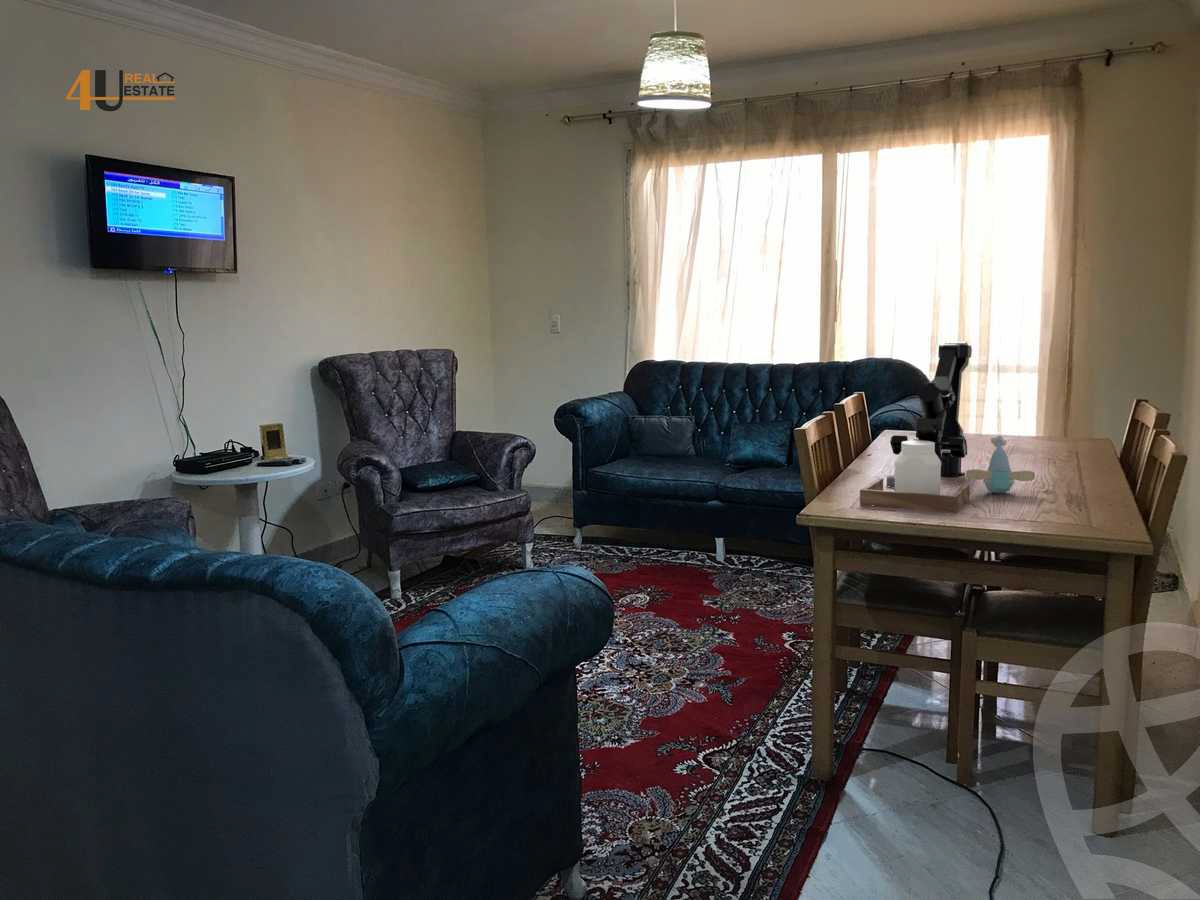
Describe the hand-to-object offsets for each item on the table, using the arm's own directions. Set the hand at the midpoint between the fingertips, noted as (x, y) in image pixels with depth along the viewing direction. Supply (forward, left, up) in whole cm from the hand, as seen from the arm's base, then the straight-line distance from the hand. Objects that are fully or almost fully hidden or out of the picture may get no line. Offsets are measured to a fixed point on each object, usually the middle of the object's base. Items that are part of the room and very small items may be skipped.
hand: (922, 471), depth 249 cm
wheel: (-6, -15, -7) cm, 17 cm away
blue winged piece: (-19, +8, -7) cm, 22 cm away
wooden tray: (+6, +3, -7) cm, 10 cm away
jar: (+3, +1, -7) cm, 8 cm away
